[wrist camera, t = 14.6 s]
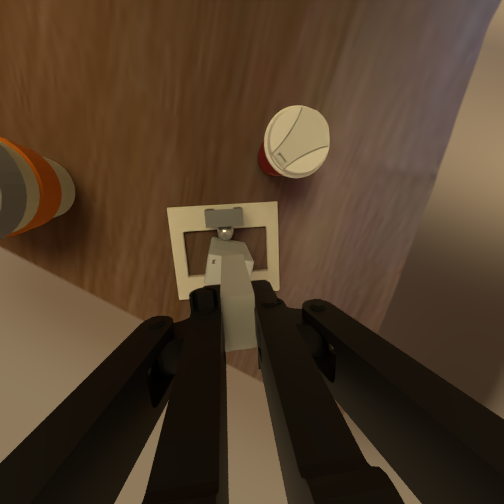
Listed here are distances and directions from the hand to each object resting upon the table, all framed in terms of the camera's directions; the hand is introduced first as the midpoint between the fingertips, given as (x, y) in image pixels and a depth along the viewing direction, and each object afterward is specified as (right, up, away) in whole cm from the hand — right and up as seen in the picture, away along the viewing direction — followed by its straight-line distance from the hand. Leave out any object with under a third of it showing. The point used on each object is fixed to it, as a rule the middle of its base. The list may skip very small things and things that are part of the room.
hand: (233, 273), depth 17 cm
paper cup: (+5, +17, +23) cm, 29 cm away
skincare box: (-3, +2, +26) cm, 26 cm away
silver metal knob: (-3, +6, +22) cm, 23 cm away
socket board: (-3, +2, +26) cm, 26 cm away
